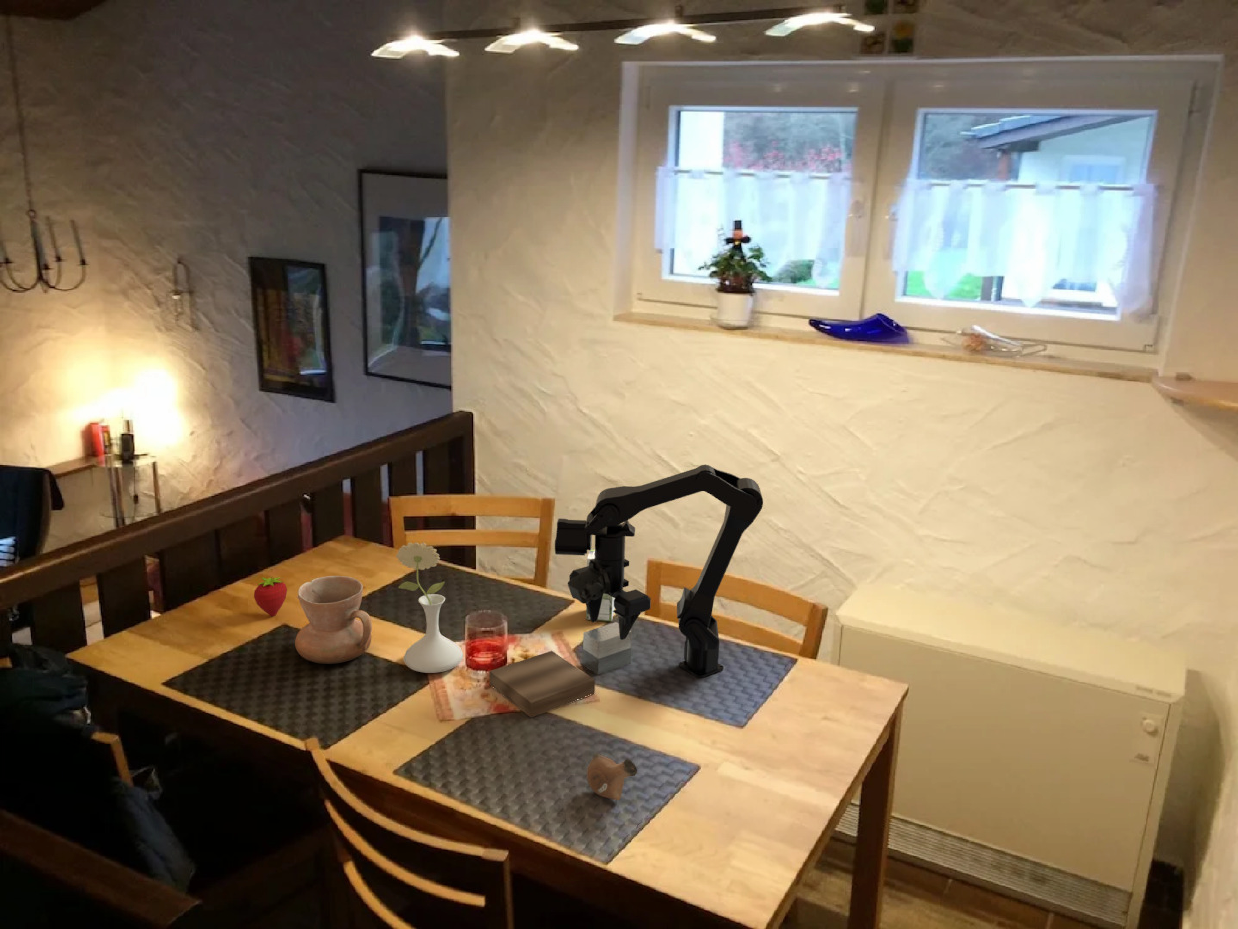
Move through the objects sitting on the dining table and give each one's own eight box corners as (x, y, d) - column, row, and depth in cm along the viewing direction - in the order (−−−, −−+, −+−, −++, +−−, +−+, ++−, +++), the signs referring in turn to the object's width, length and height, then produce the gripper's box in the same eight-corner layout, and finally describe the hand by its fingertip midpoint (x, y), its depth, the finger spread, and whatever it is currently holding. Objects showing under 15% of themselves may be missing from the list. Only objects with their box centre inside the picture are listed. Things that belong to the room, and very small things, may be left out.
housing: (615, 654, 206) (616, 622, 204) (630, 663, 202) (631, 631, 200) (582, 665, 201) (583, 632, 199) (598, 675, 197) (598, 642, 195)
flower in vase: (473, 656, 203) (471, 538, 196) (445, 683, 193) (442, 559, 185) (415, 645, 207) (410, 529, 200) (384, 671, 197) (379, 549, 189)
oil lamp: (642, 802, 159) (643, 757, 157) (628, 815, 156) (629, 769, 154) (594, 782, 164) (595, 738, 161) (579, 795, 160) (580, 750, 158)
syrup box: (614, 611, 225) (616, 549, 220) (612, 622, 219) (613, 559, 215) (589, 609, 225) (590, 547, 221) (585, 621, 219) (586, 557, 215)
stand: (594, 694, 190) (594, 679, 189) (531, 717, 182) (531, 702, 181) (551, 664, 201) (551, 650, 200) (489, 685, 192) (489, 671, 191)
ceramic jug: (275, 656, 201) (270, 590, 196) (330, 628, 213) (327, 565, 208) (342, 683, 192) (338, 615, 188) (396, 652, 204) (393, 587, 200)
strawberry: (249, 620, 216) (245, 576, 213) (273, 606, 222) (270, 563, 219) (271, 625, 214) (267, 581, 211) (295, 611, 220) (292, 568, 217)
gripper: (546, 549, 197) (546, 623, 201) (605, 581, 183) (604, 660, 187) (593, 537, 204) (592, 609, 208) (653, 567, 190) (651, 644, 194)
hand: (608, 630), depth 199 cm, fingers open, 9 cm apart
